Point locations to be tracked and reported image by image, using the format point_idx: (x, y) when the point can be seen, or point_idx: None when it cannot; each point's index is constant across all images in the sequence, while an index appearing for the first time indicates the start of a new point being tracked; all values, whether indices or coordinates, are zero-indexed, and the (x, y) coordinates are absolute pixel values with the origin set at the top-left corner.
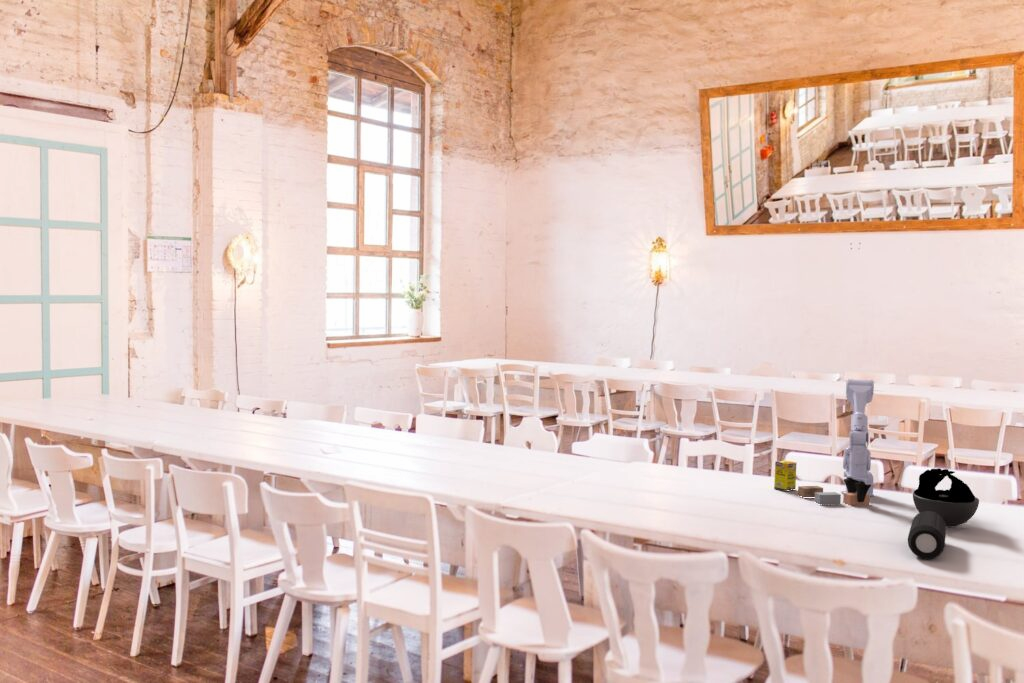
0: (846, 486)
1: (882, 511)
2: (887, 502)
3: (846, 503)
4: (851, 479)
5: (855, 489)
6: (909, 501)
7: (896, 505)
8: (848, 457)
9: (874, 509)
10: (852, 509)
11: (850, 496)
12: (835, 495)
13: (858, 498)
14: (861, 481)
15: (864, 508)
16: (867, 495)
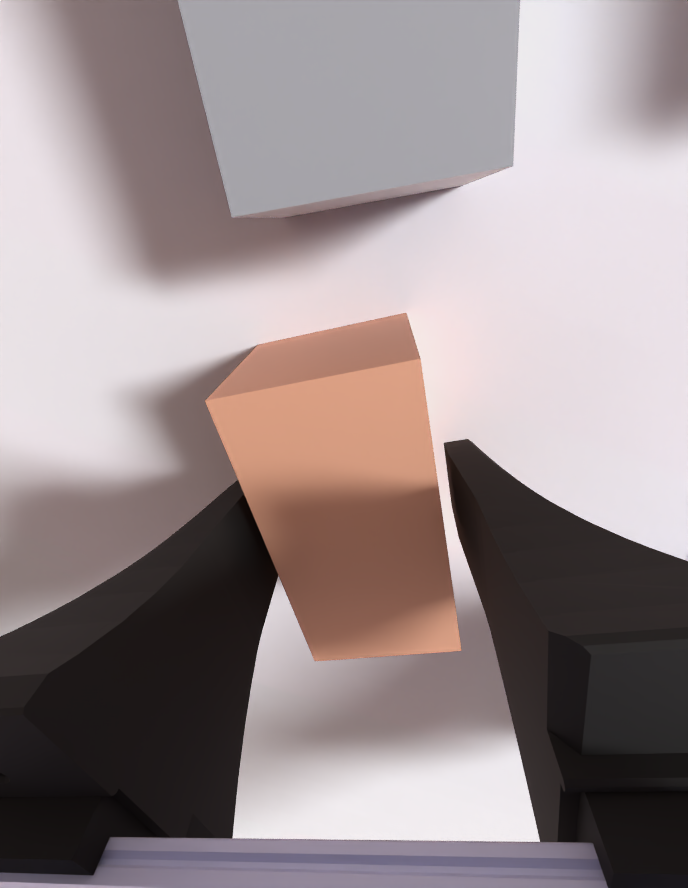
0: (579, 520)
1: (82, 565)
2: (439, 702)
3: (324, 333)
4: (581, 802)
5: (488, 609)
6: (465, 795)
7: (338, 711)
8: None
9: (141, 535)
10: (39, 303)
11: (216, 403)
12: (193, 42)
13: (221, 496)
14: (20, 865)
15: (154, 464)
16: (307, 632)
